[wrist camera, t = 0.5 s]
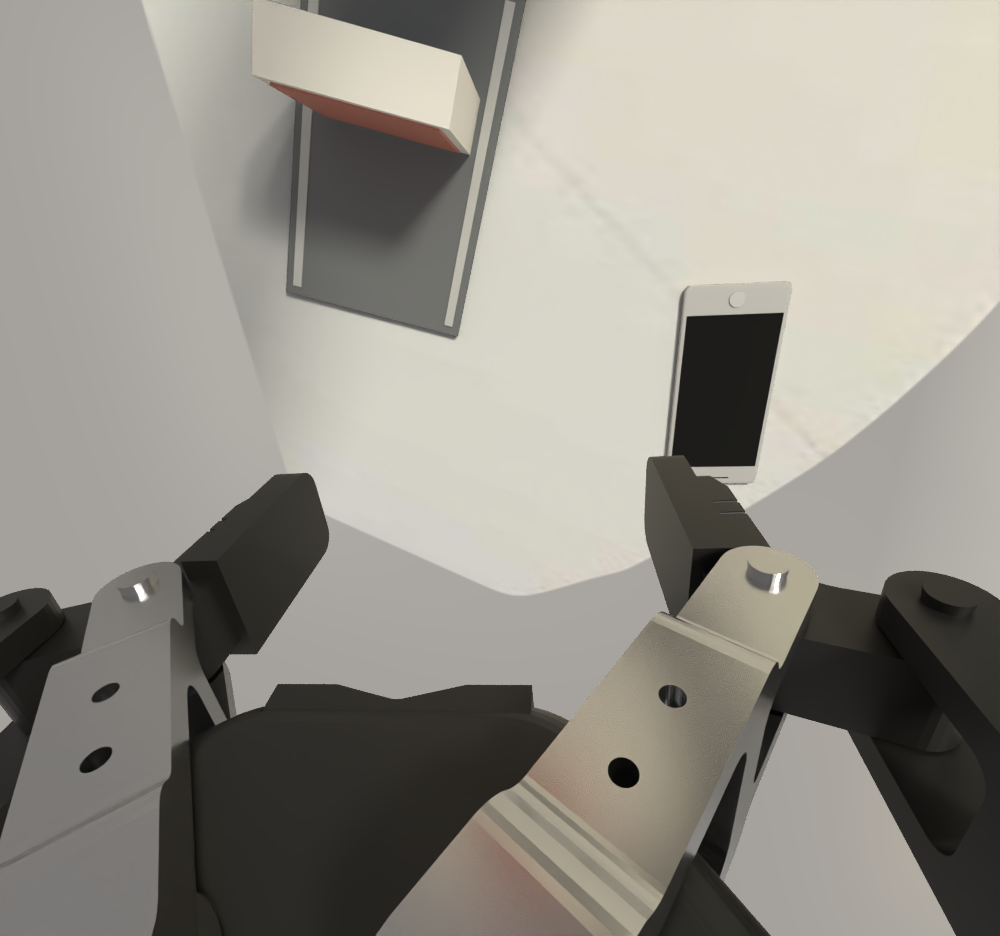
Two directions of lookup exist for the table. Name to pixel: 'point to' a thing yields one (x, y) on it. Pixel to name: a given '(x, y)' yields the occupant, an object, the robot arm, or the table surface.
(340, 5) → the mat
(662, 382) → the table surface
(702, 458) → the smartphone
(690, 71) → the table surface
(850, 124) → the table surface
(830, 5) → the table surface
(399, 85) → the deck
